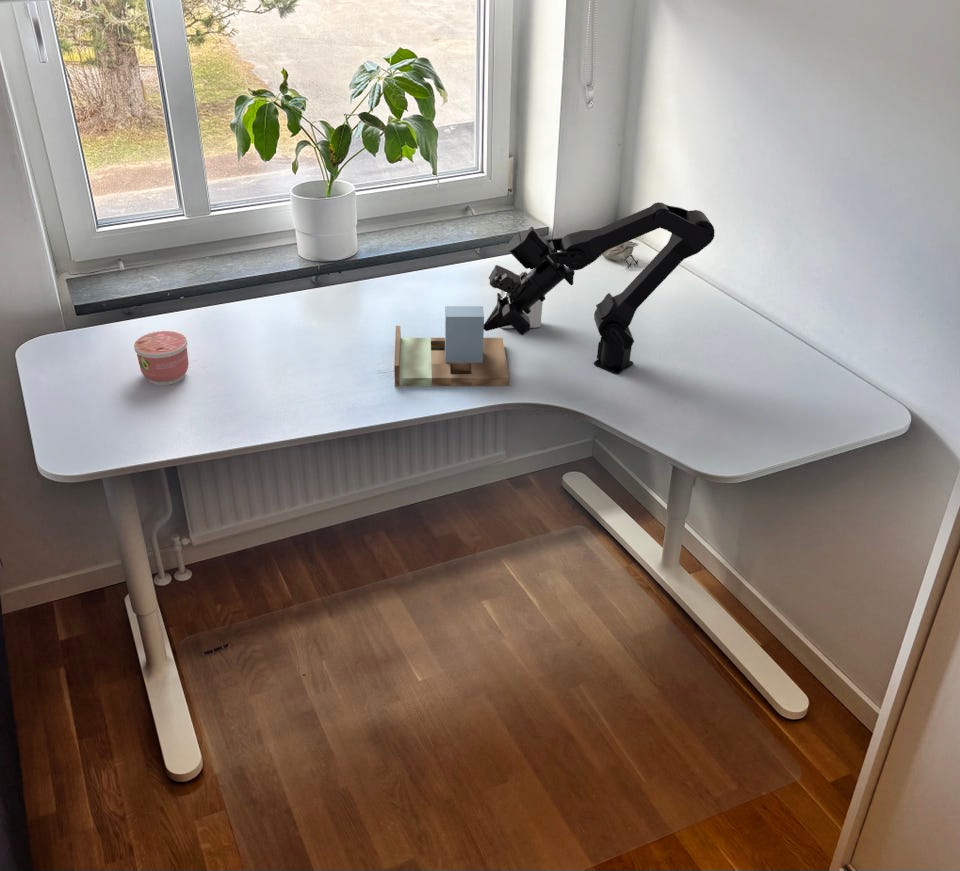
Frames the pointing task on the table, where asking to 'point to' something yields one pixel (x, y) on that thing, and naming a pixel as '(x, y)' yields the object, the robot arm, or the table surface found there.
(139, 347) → the container
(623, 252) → the decorative bird
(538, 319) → the photo printer
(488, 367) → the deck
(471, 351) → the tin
